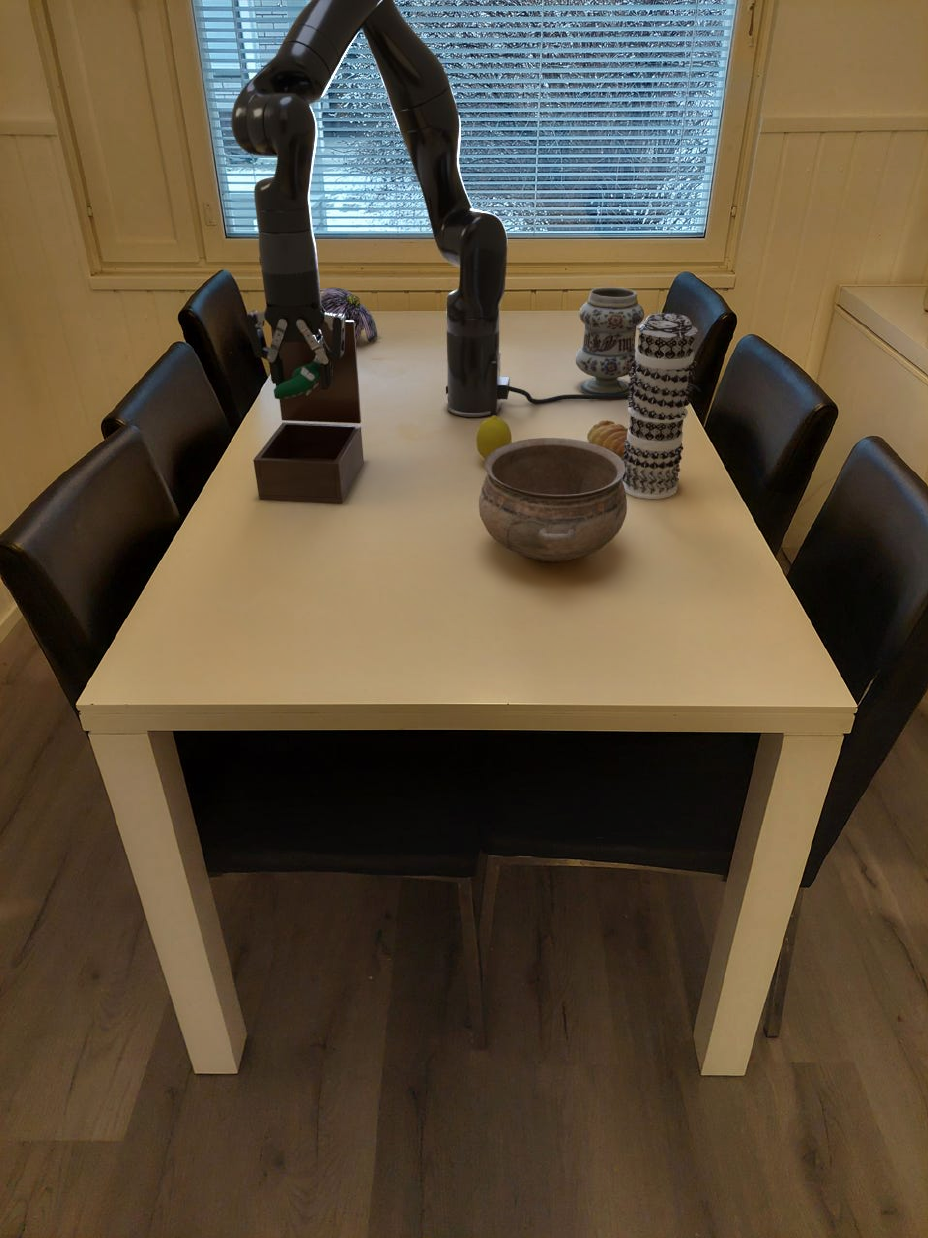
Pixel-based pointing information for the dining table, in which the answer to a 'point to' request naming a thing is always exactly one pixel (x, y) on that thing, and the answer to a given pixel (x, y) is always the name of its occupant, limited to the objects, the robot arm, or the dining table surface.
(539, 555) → the cooking pot
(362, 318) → the decorative flower
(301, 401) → the case cover
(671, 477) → the decorative candle
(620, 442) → the pastry
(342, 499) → the case
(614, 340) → the apothecary jar
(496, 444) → the lemon
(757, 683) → the dining table surface
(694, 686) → the dining table surface
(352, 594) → the dining table surface
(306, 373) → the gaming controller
